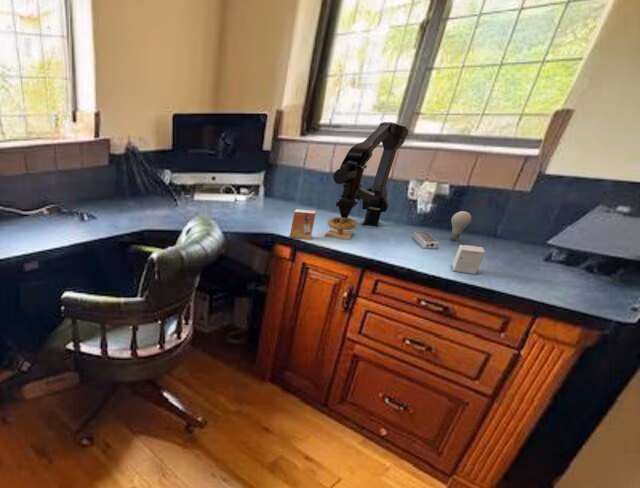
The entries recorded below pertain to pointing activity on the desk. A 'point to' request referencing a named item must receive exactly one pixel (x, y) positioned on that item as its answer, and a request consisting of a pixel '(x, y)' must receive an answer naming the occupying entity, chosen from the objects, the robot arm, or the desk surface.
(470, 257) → the product box
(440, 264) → the desk surface
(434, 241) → the multiport hub
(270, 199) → the desk surface
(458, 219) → the lightbulb
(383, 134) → the robot arm
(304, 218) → the small box
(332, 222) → the ring
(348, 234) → the peg stand
